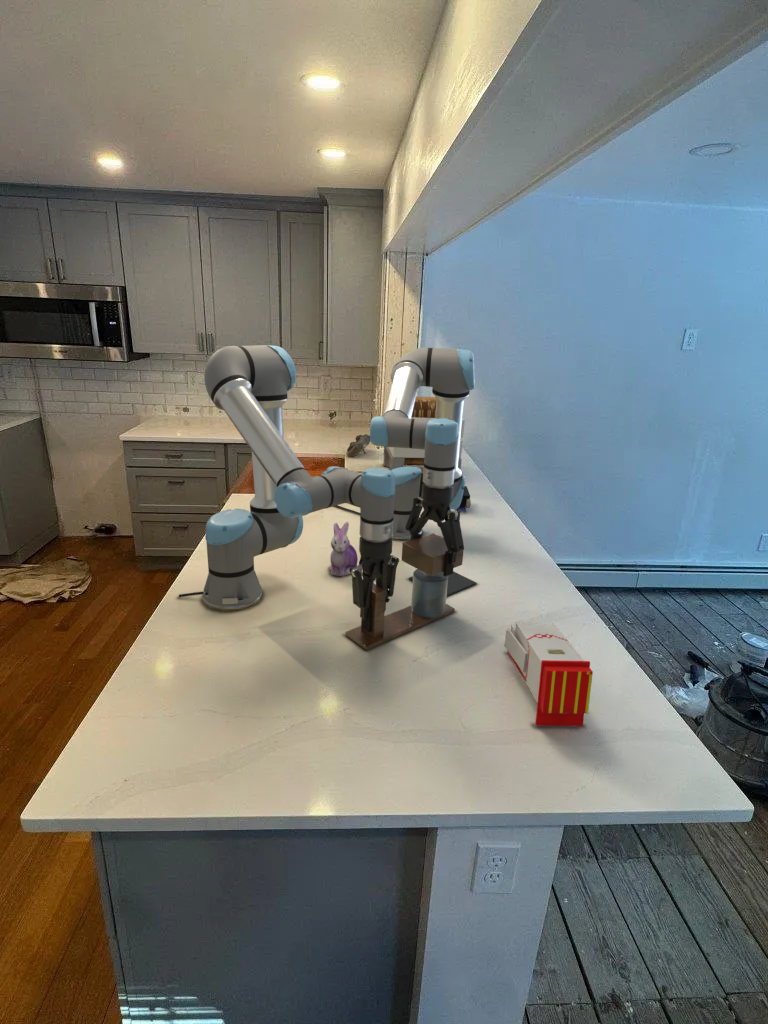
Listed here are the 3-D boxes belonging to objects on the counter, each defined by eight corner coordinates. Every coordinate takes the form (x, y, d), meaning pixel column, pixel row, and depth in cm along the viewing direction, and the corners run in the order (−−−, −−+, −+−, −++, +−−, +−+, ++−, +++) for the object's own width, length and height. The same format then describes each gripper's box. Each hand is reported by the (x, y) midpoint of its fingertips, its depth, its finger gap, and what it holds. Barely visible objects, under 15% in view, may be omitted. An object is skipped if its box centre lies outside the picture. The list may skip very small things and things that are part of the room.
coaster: (408, 579, 167) (408, 577, 166) (441, 567, 175) (441, 565, 175) (443, 598, 157) (443, 596, 157) (476, 584, 165) (476, 582, 165)
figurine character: (470, 516, 223) (465, 500, 237) (473, 499, 220) (467, 484, 233) (453, 516, 223) (449, 500, 236) (455, 498, 220) (451, 483, 233)
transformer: (382, 463, 289) (386, 382, 275) (445, 464, 293) (451, 384, 279) (390, 482, 257) (394, 392, 243) (460, 483, 261) (468, 394, 247)
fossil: (346, 440, 316) (367, 425, 311) (357, 453, 319) (378, 438, 314) (340, 453, 296) (362, 438, 291) (351, 468, 299) (374, 452, 294)
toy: (550, 607, 134) (601, 667, 105) (545, 659, 137) (594, 732, 108) (499, 606, 134) (537, 666, 104) (495, 659, 137) (530, 731, 107)
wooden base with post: (367, 651, 131) (369, 601, 126) (344, 634, 137) (345, 586, 133) (455, 612, 150) (460, 567, 145) (431, 599, 156) (435, 555, 152)
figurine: (335, 579, 164) (336, 531, 159) (322, 565, 172) (322, 519, 167) (364, 574, 168) (366, 527, 163) (350, 560, 177) (351, 515, 172)
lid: (401, 560, 145) (402, 542, 143) (431, 550, 152) (433, 533, 150) (431, 576, 137) (433, 557, 135) (462, 564, 144) (464, 547, 142)
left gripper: (358, 550, 121) (355, 645, 129) (413, 534, 131) (407, 623, 139) (337, 539, 126) (336, 630, 134) (391, 524, 136) (387, 610, 144)
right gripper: (394, 474, 143) (390, 553, 151) (463, 500, 127) (455, 587, 134) (415, 470, 148) (410, 547, 155) (485, 494, 131) (476, 579, 139)
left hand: (372, 626), depth 136 cm, fingers closed on wooden base with post, 3 cm apart
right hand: (431, 566), depth 145 cm, fingers closed on lid, 11 cm apart
